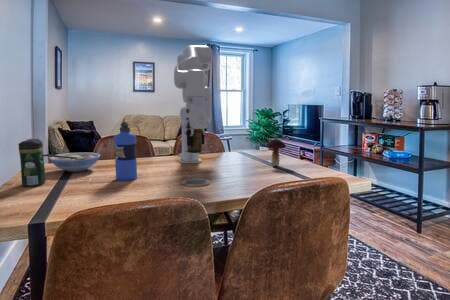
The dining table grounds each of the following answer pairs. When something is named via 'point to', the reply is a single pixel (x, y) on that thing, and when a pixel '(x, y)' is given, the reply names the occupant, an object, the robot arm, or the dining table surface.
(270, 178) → the dining table surface
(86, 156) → the ramen bowl
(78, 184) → the dining table surface
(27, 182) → the coffee jar
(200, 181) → the coaster
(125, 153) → the water bottle
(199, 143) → the condiment
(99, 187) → the dining table surface
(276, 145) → the decorative mushroom
